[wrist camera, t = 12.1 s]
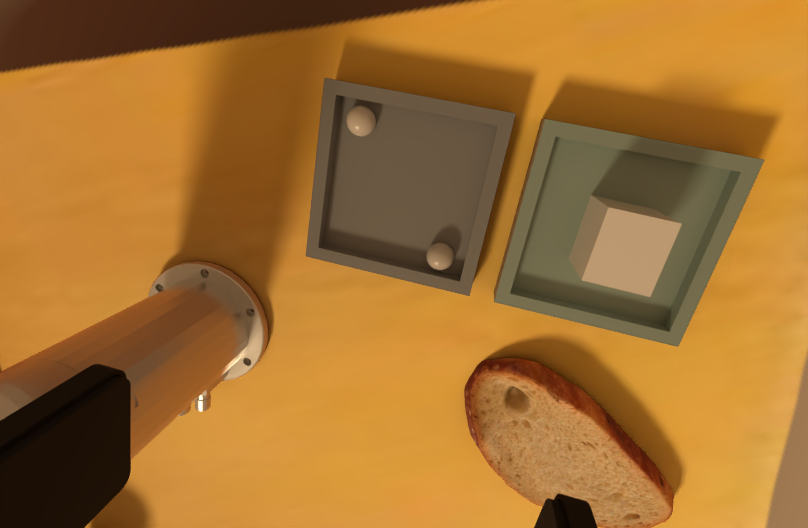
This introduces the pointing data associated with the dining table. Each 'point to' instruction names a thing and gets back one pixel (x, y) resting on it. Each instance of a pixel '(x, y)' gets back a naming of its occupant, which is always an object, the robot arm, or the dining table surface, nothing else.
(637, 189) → the bin
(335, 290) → the dining table surface
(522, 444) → the bread slice
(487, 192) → the bin
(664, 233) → the beige block
